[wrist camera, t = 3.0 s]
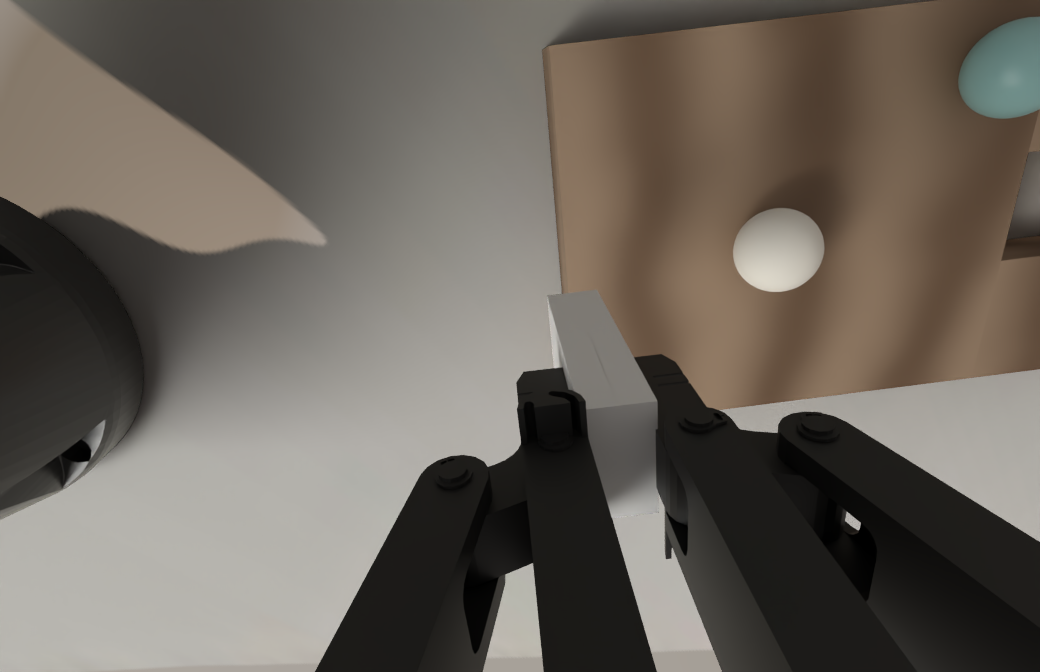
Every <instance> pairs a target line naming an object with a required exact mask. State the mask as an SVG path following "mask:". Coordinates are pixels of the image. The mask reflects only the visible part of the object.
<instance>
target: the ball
mask: <svg viewBox="0 0 1040 672" xmlns="http://www.w3.org/2000/svg"><path fill="white" fill-rule="evenodd" d="M823 255H824V240H823V235H822V233H821V231H820V229H819V227H818V226H817V224H816V223H815V222H814V221H813V220H812V219H811V218H810V217H809V216H807V215H805V214H804V213H802V212H799V211H797V210H793V209H789V208H774V209H769V210H766V211H763V212H761V213H759V214H757V215H755V216H753V217H752V218H751V219H750V220H748V221H747V222H746V223H745V224H744V225H743V227H742V228H741V229H740V231H739V232H738V234H737V236H736V239H735V242H734V246H733V258H734V263H735V266H736V268H737V270H738V272H739V274H740V275H741V277H742V278H743V279H744V280H745V281H746V282H748V283H749V284H750V285H752V286H754V287H756V288H758V289H761V290H764V291H769V292H783V291H788V290H791V289H794V288H797V287H799V286H801V285H802V284H804V283H805V282H807V281H808V280H809V279H810V278H811V277H812V276H813V275H814V274H815V273H816V271H817V270H818V268H819V266H820V264H821V262H822V259H823Z"/></svg>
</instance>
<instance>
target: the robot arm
mask: <svg viewBox="0 0 1040 672" xmlns="http://www.w3.org/2000/svg"><path fill="white" fill-rule="evenodd" d="M547 301H548V312H549V322H550V333H551V344H552V354H553V365H554V368H552V369H544V370H536V371H527V372H523V374H522V375H521V377H520V378H519V380H518V381H517V393H518V408H517V413H518V420H519V428H520V436H521V445H520V447H519V449H518V450H517V451H516V452H515V453H514V454H513V455H512V456H511V457H509V458H508V459H506V460H505V461H502V462H500V463H498V464H496V465H493V466H490V467H487V466H486V464H485V463H484V461H482V460H480V459H478V458H476V457H472V456H466V455H459V456H450V457H447V458H444V459H441V460H438V461H436V462H435V463H433V464H431V465H430V466H428V467H427V468H426V469H425V470H424V472H423V473H422V474H421V475H420V477H419V479H418V481H417V482H416V484H415V486H414V488H413V490H412V492H411V494H410V496H409V497H408V499H407V501H406V503H405V505H404V507H403V509H402V510H401V512H400V514H399V516H398V518H397V520H396V522H395V524H394V525H393V527H392V529H391V531H390V533H389V535H388V537H387V538H386V540H385V542H384V544H383V546H382V548H381V550H380V551H379V553H378V555H377V557H376V559H375V561H374V563H373V565H372V566H371V568H370V570H369V572H368V574H367V576H366V578H365V579H364V581H363V583H362V585H361V587H360V589H359V591H358V593H357V594H356V596H355V598H354V600H353V602H352V604H351V606H350V607H349V609H348V611H347V613H346V615H345V617H344V619H343V621H342V622H341V624H340V626H339V628H338V630H337V632H336V634H335V635H334V637H333V639H332V641H331V643H330V645H329V647H328V648H327V650H326V652H325V654H324V656H323V658H322V660H321V662H320V663H319V665H318V667H317V669H316V671H315V672H483V668H484V664H485V660H486V656H487V652H488V648H489V644H490V640H491V636H492V633H493V629H494V625H495V621H496V617H497V613H498V609H499V605H500V601H501V597H502V594H503V590H504V586H505V574H507V573H510V572H512V571H514V570H517V569H519V568H522V567H524V566H527V565H529V564H531V563H533V566H534V576H535V586H536V597H537V607H538V617H539V627H540V638H541V648H542V658H543V667H544V672H657V671H656V668H655V664H654V661H653V657H652V654H651V650H650V647H649V644H648V640H647V637H646V633H645V630H644V626H643V623H642V620H641V616H640V613H639V609H638V606H637V602H636V599H635V596H634V592H633V589H632V585H631V582H630V579H629V575H628V572H627V568H626V565H625V561H624V558H623V555H622V551H621V548H620V544H619V541H618V537H617V534H616V531H615V527H614V524H613V520H612V518H619V517H628V516H636V515H644V514H653V513H659V499H658V493H659V495H660V497H661V500H662V502H663V504H664V507H665V555H666V559H670V558H671V549H672V547H673V550H674V552H675V555H676V557H677V560H678V562H679V565H680V567H681V570H682V572H683V575H684V577H685V580H686V582H687V585H688V587H689V590H690V592H691V595H692V597H693V600H694V602H695V605H696V607H697V610H698V612H699V615H700V617H701V620H702V622H703V625H704V627H705V630H706V632H707V635H708V637H709V640H710V642H711V645H712V647H713V650H714V652H715V655H716V657H717V660H718V662H719V665H720V667H721V670H722V672H1040V542H1039V541H1037V540H1035V539H1034V538H1032V537H1031V536H1029V535H1027V534H1026V533H1024V532H1023V531H1021V530H1019V529H1018V528H1016V527H1015V526H1013V525H1011V524H1010V523H1008V522H1006V521H1005V520H1003V519H1002V518H1000V517H998V516H997V515H995V514H994V513H992V512H990V511H989V510H987V509H986V508H984V507H982V506H981V505H979V504H978V503H976V502H974V501H973V500H971V499H969V498H968V497H966V496H965V495H963V494H961V493H960V492H958V491H957V490H955V489H953V488H952V487H950V486H949V485H947V484H945V483H944V482H942V481H941V480H939V479H937V478H936V477H934V476H932V475H931V474H929V473H928V472H926V471H924V470H923V469H921V468H920V467H918V466H916V465H915V464H913V463H912V462H910V461H908V460H907V459H905V458H904V457H902V456H900V455H899V454H897V453H895V452H894V451H892V450H891V449H889V448H887V447H886V446H884V445H883V444H881V443H879V442H878V441H876V440H875V439H873V438H871V437H870V436H868V435H867V434H865V433H863V432H862V431H860V430H858V429H857V428H855V427H854V426H852V425H850V424H849V423H847V422H845V421H843V420H841V419H839V418H837V417H834V416H831V415H827V414H823V413H819V412H800V413H793V414H790V415H788V416H786V417H784V418H782V420H781V421H780V423H779V424H778V433H768V432H754V431H747V430H741V429H739V428H738V427H737V426H736V424H735V423H734V421H733V420H732V419H731V418H730V417H729V416H728V415H726V414H725V413H724V412H721V411H719V410H716V409H714V408H709V407H706V405H705V404H704V402H703V401H702V399H701V398H700V396H699V395H698V394H697V392H696V391H695V389H694V388H693V386H692V385H691V383H689V381H688V379H687V378H686V376H685V375H684V374H683V372H682V370H681V369H680V367H679V366H678V365H677V363H676V362H675V361H673V360H671V359H669V358H668V357H666V356H664V355H662V354H657V355H649V356H640V357H633V355H632V353H631V351H630V350H629V348H628V346H627V344H626V342H625V340H624V339H623V337H622V335H621V333H620V331H619V329H618V327H617V326H616V324H615V322H614V320H613V318H612V316H611V315H610V313H609V311H608V309H607V307H606V305H605V304H604V302H603V300H602V298H601V296H600V294H599V293H598V291H597V290H589V291H581V292H573V293H564V294H556V295H548V296H547ZM142 390H143V364H142V357H141V352H140V347H139V343H138V340H137V337H136V334H135V331H134V328H133V326H132V323H131V321H130V319H129V317H128V315H127V312H126V311H125V309H124V307H123V305H122V303H121V302H120V300H119V298H118V297H117V295H116V294H115V292H114V291H113V289H112V288H111V286H110V285H109V284H108V282H107V281H106V279H105V278H104V277H103V276H102V274H101V273H100V272H99V271H98V270H97V268H96V267H95V266H94V265H93V264H92V263H91V262H90V261H89V260H88V259H87V258H86V257H85V256H84V254H82V253H81V252H80V251H79V250H78V249H77V248H76V247H75V246H74V245H73V244H72V243H71V242H69V241H68V240H67V239H66V238H65V237H63V236H62V235H61V234H60V233H59V232H57V231H56V230H55V229H53V228H52V227H51V226H49V225H48V224H46V223H45V222H43V221H42V220H41V219H39V218H38V217H36V216H35V215H33V214H31V213H30V212H28V211H26V210H25V209H23V208H21V207H20V206H17V205H16V204H14V203H12V202H10V201H8V200H6V199H4V198H2V197H0V520H1V519H3V518H5V517H7V516H9V515H11V514H14V513H16V512H18V511H20V510H22V509H24V508H26V507H28V506H30V505H33V504H35V503H37V502H39V501H41V500H43V499H45V498H47V497H50V496H52V495H54V494H56V493H58V492H60V491H62V490H63V489H65V488H67V487H68V486H70V485H71V484H73V483H74V482H76V481H77V480H78V479H80V478H81V477H83V476H84V475H85V474H86V473H87V472H89V471H90V470H91V469H92V468H93V467H94V466H95V465H96V464H97V463H98V462H99V461H100V460H101V459H102V458H103V457H104V456H105V455H106V454H107V453H108V452H109V451H110V450H111V449H112V448H113V447H114V446H115V445H116V444H117V443H118V442H119V441H120V440H121V439H122V438H123V436H124V435H125V434H126V432H127V431H128V429H129V428H130V426H131V424H132V422H133V420H134V418H135V416H136V414H137V411H138V408H139V405H140V401H141V396H142ZM846 511H847V512H848V513H850V514H851V515H852V516H853V517H855V518H856V519H857V520H858V521H860V522H861V526H860V530H859V531H858V530H856V529H855V528H853V527H852V526H850V525H849V524H848V523H847V522H845V517H846Z"/></svg>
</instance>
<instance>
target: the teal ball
mask: <svg viewBox="0 0 1040 672" xmlns="http://www.w3.org/2000/svg"><path fill="white" fill-rule="evenodd" d="M958 86H959V91H960V94H961V97H962V99H963V101H964V102H965V103H966V105H967V106H968V107H969V108H971V109H972V110H973V111H975V112H976V113H978V114H980V115H983V116H986V117H990V118H998V119H1006V118H1015V117H1020V116H1024V115H1027V114H1030V113H1033V112H1035V111H1037V110H1039V109H1040V17H1026V18H1021V19H1017V20H1014V21H1011V22H1008V23H1005V24H1003V25H1001V26H999V27H997V28H996V29H994V30H992V31H991V32H989V33H988V34H987V35H985V36H984V37H983V38H981V39H980V40H979V41H978V42H977V43H976V44H975V45H974V47H973V48H972V49H971V50H970V52H969V53H968V54H967V56H966V58H965V59H964V61H963V63H962V66H961V69H960V72H959V78H958Z"/></svg>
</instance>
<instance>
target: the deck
mask: <svg viewBox="0 0 1040 672" xmlns="http://www.w3.org/2000/svg"><path fill="white" fill-rule="evenodd" d="M1026 17H1040V0H934V1H926V2H917V3H909V4H900V5H892V6H883V7H875V8H866V9H858V10H849V11H841V12H832V13H824V14H815V15H807V16H798V17H789V18H781V19H772V20H764V21H755V22H747V23H738V24H730V25H721V26H713V27H704V28H696V29H687V30H679V31H670V32H661V33H653V34H644V35H636V36H627V37H619V38H610V39H602V40H593V41H585V42H576V43H568V44H559V45H551V46H548V47H546V48H545V49H543V50H542V53H543V66H544V78H545V90H546V102H547V115H548V127H549V139H550V151H551V164H552V176H553V188H554V200H555V213H556V225H557V237H558V250H559V262H560V274H561V286H562V294H564V293H573V292H581V291H589V290H597V291H598V293H599V294H600V296H601V298H602V300H603V302H604V304H605V305H606V307H607V309H608V311H609V313H610V315H611V316H612V318H613V320H614V322H615V324H616V326H617V327H618V329H619V331H620V333H621V335H622V337H623V339H624V340H625V342H626V344H627V346H628V348H629V350H630V351H631V353H632V355H633V357H640V356H649V355H657V354H662V355H664V356H666V357H668V358H669V359H671V360H673V361H675V362H676V363H677V365H678V366H679V367H680V369H681V370H682V372H683V374H684V375H685V376H686V378H687V379H688V381H689V383H691V385H692V386H693V388H694V389H695V391H696V392H697V394H698V395H699V396H700V398H701V399H702V401H703V402H704V404H705V405H706V407H709V408H714V409H716V410H722V409H730V408H738V407H746V406H754V405H761V404H769V403H777V402H785V401H793V400H801V399H809V398H816V397H824V396H832V395H840V394H848V393H856V392H863V391H871V390H879V389H887V388H895V387H903V386H911V385H918V384H926V383H934V382H942V381H950V380H958V379H966V378H973V377H981V376H989V375H997V374H1005V373H1013V372H1021V371H1028V370H1036V369H1040V236H1032V237H1024V238H1016V239H1008V240H1006V239H1007V236H1008V232H1009V228H1010V224H1011V220H1012V216H1013V212H1014V208H1015V204H1016V200H1017V196H1018V192H1019V188H1020V184H1021V180H1022V176H1023V172H1024V168H1025V164H1026V160H1027V156H1028V152H1035V151H1040V109H1039V110H1037V111H1035V112H1033V113H1030V114H1027V115H1024V116H1020V117H1015V118H1006V119H998V118H990V117H986V116H983V115H980V114H978V113H976V112H975V111H973V110H972V109H971V108H969V107H968V106H967V105H966V103H965V102H964V101H963V99H962V97H961V94H960V91H959V86H958V78H959V72H960V69H961V66H962V63H963V61H964V59H965V58H966V56H967V54H968V53H969V52H970V50H971V49H972V48H973V47H974V45H975V44H976V43H977V42H978V41H979V40H980V39H981V38H983V37H984V36H985V35H987V34H988V33H989V32H991V31H992V30H994V29H996V28H997V27H999V26H1001V25H1003V24H1005V23H1008V22H1011V21H1014V20H1017V19H1021V18H1026ZM774 208H789V209H793V210H797V211H799V212H802V213H804V214H805V215H807V216H809V217H810V218H811V219H812V220H813V221H814V222H815V223H816V224H817V226H818V227H819V229H820V231H821V233H822V235H823V240H824V255H823V259H822V262H821V264H820V266H819V268H818V270H817V271H816V273H815V274H814V275H813V276H812V277H811V278H810V279H809V280H808V281H807V282H805V283H804V284H802V285H801V286H799V287H797V288H794V289H791V290H788V291H783V292H769V291H764V290H761V289H758V288H756V287H754V286H752V285H750V284H749V283H748V282H746V281H745V280H744V279H743V278H742V277H741V275H740V274H739V272H738V270H737V268H736V266H735V263H734V258H733V246H734V242H735V239H736V236H737V234H738V232H739V231H740V229H741V228H742V227H743V225H744V224H745V223H746V222H747V221H748V220H750V219H751V218H752V217H753V216H755V215H757V214H759V213H761V212H763V211H766V210H769V209H774Z"/></svg>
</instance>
